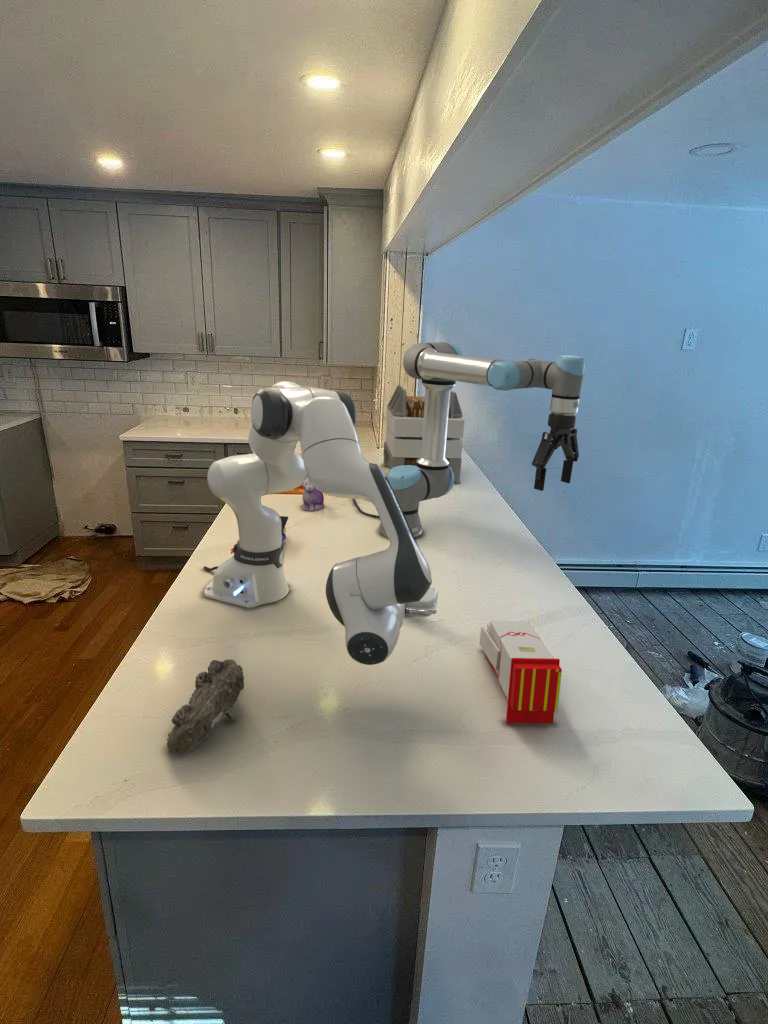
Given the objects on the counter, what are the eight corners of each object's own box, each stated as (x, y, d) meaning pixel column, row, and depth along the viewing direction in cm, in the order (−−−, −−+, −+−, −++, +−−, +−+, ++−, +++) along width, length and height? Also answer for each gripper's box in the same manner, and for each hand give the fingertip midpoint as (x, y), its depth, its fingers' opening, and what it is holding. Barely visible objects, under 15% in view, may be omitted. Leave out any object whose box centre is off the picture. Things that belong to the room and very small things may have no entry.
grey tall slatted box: (382, 463, 289) (386, 382, 275) (445, 464, 293) (451, 384, 279) (390, 482, 257) (394, 392, 243) (460, 483, 261) (468, 394, 247)
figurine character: (283, 556, 181) (289, 533, 194) (282, 535, 178) (288, 514, 191) (262, 555, 181) (269, 533, 194) (260, 534, 177) (268, 513, 191)
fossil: (192, 660, 117) (244, 628, 112) (224, 691, 120) (276, 661, 115) (142, 746, 98) (202, 712, 93) (182, 779, 101) (242, 748, 96)
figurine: (306, 512, 216) (305, 474, 210) (297, 504, 224) (296, 467, 219) (329, 509, 220) (329, 472, 215) (319, 501, 228) (319, 465, 223)
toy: (526, 605, 135) (570, 665, 105) (521, 658, 137) (563, 730, 108) (475, 604, 134) (506, 664, 105) (472, 657, 137) (500, 729, 108)
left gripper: (437, 599, 107) (442, 573, 121) (332, 589, 110) (348, 564, 124) (435, 630, 109) (440, 600, 122) (332, 618, 112) (347, 590, 125)
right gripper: (548, 419, 148) (537, 496, 155) (598, 411, 163) (586, 482, 171) (525, 414, 153) (515, 489, 160) (575, 407, 169) (564, 476, 176)
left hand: (393, 582), depth 123 cm, fingers open, 8 cm apart
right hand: (552, 485), depth 166 cm, fingers open, 13 cm apart
